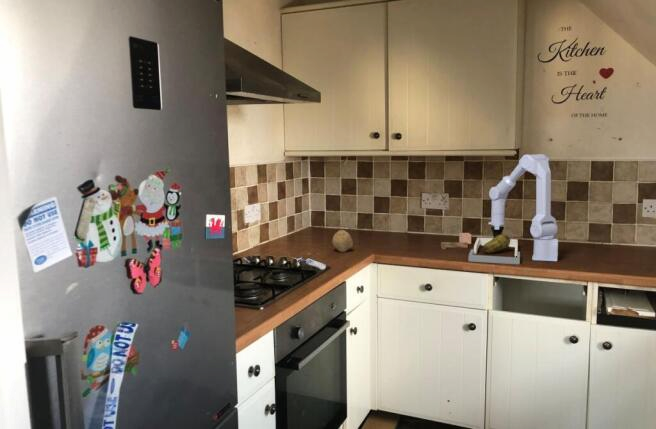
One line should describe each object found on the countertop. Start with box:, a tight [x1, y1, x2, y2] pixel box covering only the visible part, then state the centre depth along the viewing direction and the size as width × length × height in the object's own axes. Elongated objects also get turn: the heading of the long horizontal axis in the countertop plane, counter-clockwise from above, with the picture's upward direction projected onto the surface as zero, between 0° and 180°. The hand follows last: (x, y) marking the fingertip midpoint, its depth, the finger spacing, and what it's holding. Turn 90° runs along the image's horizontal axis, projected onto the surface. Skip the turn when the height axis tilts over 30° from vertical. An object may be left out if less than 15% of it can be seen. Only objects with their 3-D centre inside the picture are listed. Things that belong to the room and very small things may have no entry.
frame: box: [468, 248, 521, 265], centre depth 231 cm, size 20×13×2 cm, turn 71°
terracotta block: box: [458, 232, 472, 245], centre depth 266 cm, size 4×4×4 cm
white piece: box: [473, 237, 519, 257], centre depth 248 cm, size 18×22×4 cm
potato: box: [482, 233, 511, 254], centre depth 243 cm, size 8×13×8 cm, turn 93°
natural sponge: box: [331, 229, 354, 253], centre depth 249 cm, size 9×9×10 cm
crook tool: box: [440, 241, 469, 250], centre depth 255 cm, size 12×6×2 cm, turn 83°
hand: (497, 242), depth 254 cm, fingers closed
